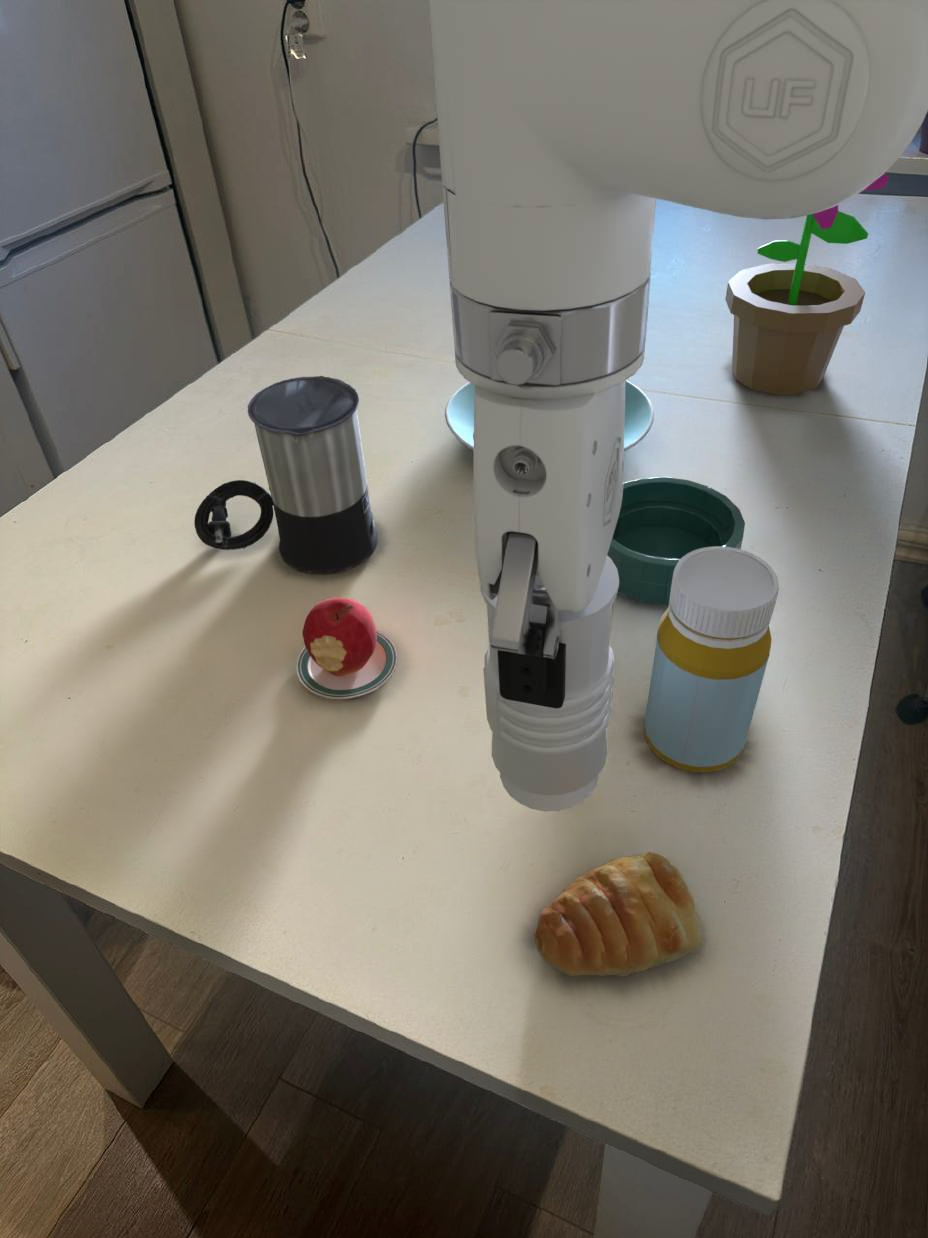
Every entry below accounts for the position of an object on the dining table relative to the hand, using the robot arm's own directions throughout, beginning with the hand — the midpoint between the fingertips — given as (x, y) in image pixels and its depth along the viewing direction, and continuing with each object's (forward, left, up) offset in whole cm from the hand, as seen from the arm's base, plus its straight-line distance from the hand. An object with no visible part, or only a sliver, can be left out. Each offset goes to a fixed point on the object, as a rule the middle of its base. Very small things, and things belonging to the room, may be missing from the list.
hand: (548, 650), depth 46 cm
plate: (+12, -50, -17) cm, 54 cm away
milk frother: (+31, -25, -17) cm, 43 cm away
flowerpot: (-11, -69, -17) cm, 72 cm away
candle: (0, 0, -10) cm, 10 cm away
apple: (+19, -11, -17) cm, 27 cm away
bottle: (-8, -11, -17) cm, 22 cm away
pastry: (-6, +5, -17) cm, 19 cm away
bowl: (-3, -30, -17) cm, 35 cm away
